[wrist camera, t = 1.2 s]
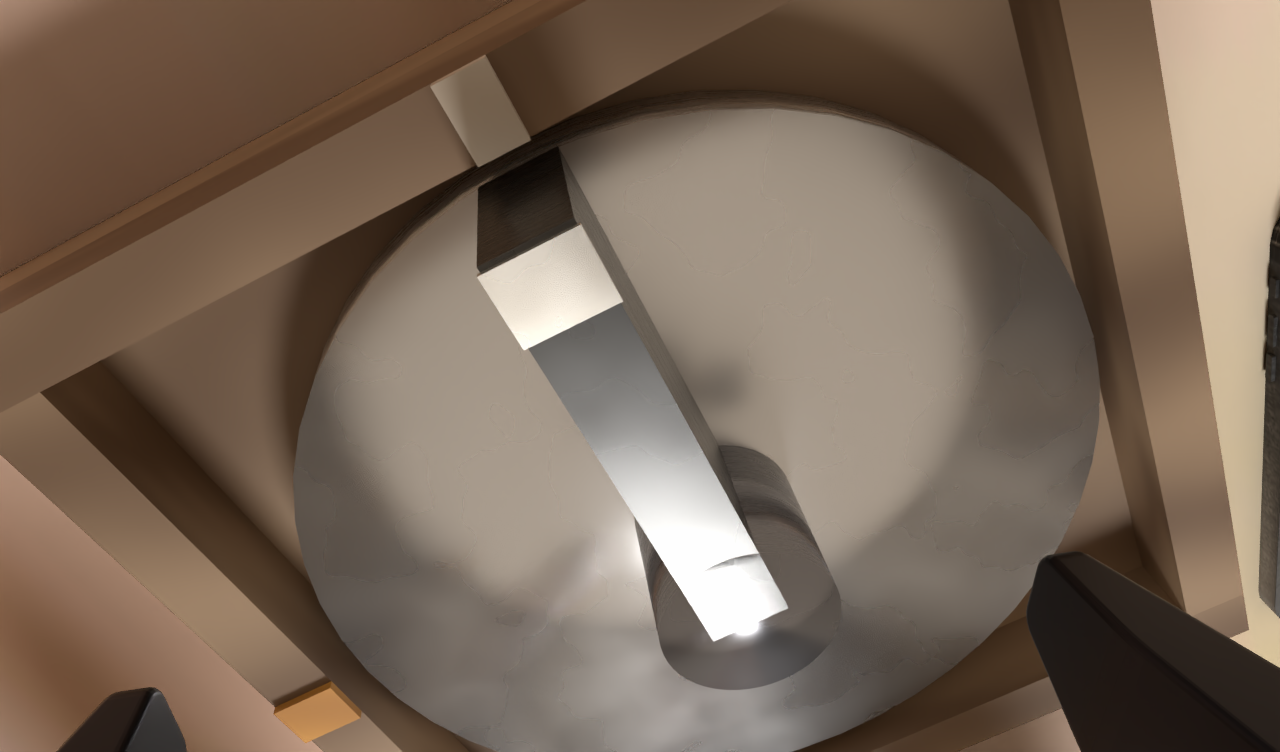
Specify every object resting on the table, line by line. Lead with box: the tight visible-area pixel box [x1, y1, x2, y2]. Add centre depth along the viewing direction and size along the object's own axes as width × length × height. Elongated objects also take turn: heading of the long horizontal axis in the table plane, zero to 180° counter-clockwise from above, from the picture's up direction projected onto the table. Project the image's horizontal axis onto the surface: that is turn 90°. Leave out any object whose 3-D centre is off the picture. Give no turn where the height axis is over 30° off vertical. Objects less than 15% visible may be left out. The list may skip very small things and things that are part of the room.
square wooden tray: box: [0, 0, 1249, 752], centre depth 22 cm, size 22×22×4 cm
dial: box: [293, 90, 1100, 752], centre depth 20 cm, size 18×18×5 cm
